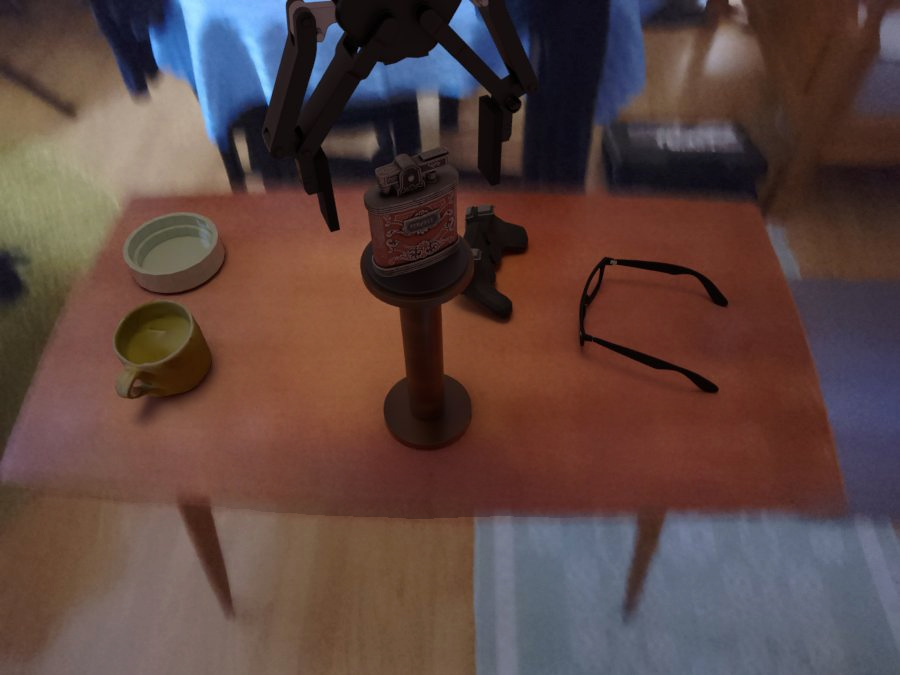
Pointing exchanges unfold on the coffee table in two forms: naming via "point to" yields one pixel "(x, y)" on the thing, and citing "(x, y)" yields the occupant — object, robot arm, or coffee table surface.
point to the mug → (160, 350)
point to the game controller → (490, 256)
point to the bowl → (174, 252)
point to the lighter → (413, 212)
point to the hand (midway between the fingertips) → (411, 197)
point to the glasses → (633, 354)
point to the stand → (424, 350)
